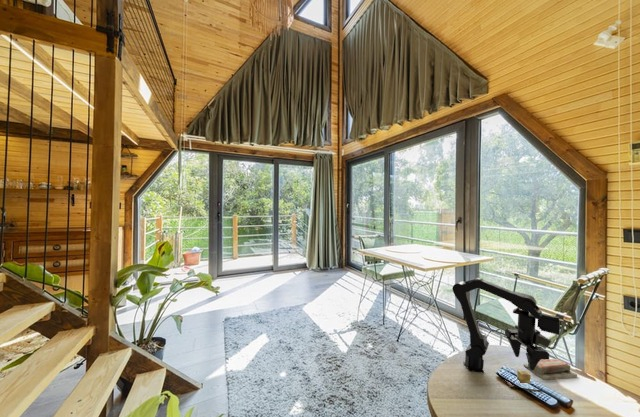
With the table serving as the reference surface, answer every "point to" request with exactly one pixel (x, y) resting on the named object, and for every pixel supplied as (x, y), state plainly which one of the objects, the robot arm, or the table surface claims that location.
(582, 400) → the table surface
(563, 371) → the packaged product
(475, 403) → the table surface
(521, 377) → the stub
